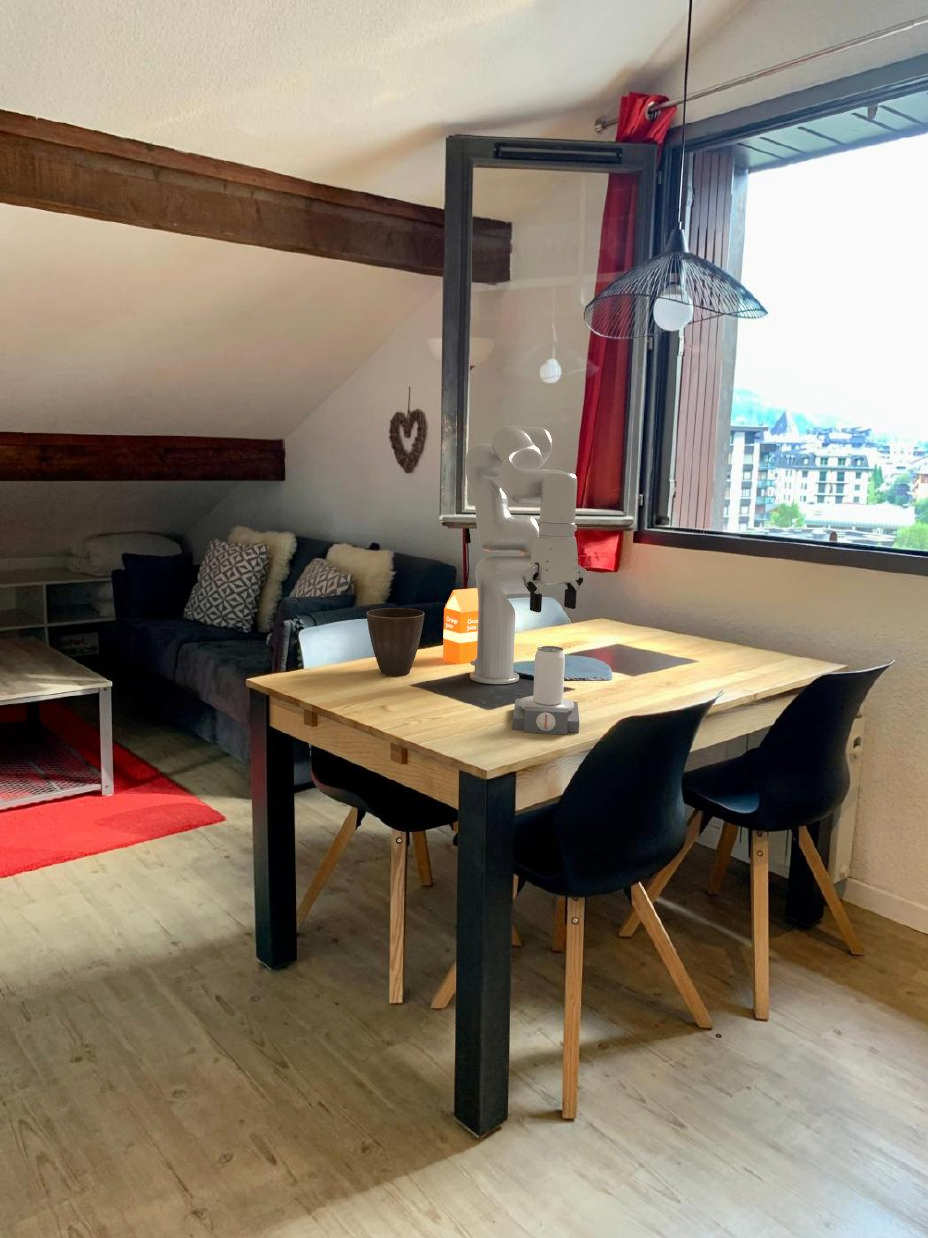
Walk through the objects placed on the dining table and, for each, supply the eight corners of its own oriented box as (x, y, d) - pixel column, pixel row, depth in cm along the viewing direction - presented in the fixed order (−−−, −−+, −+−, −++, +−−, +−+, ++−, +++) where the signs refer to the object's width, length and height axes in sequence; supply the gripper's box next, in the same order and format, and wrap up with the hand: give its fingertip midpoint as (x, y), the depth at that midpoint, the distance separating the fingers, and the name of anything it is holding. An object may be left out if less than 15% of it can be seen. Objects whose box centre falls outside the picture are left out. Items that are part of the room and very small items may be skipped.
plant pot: (362, 678, 240) (362, 616, 237) (369, 665, 255) (370, 606, 252) (420, 681, 240) (422, 618, 237) (425, 667, 254) (426, 608, 252)
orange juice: (442, 659, 265) (444, 588, 262) (467, 655, 271) (469, 586, 267) (459, 664, 259) (461, 592, 256) (484, 660, 264) (486, 589, 261)
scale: (515, 708, 217) (516, 688, 216) (576, 712, 215) (578, 691, 214) (511, 732, 198) (512, 710, 198) (579, 736, 197) (580, 713, 196)
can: (560, 698, 211) (563, 645, 209) (564, 706, 205) (567, 652, 203) (531, 698, 211) (533, 645, 209) (534, 705, 204) (537, 651, 202)
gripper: (575, 527, 210) (571, 604, 213) (513, 530, 200) (510, 609, 204) (598, 531, 204) (594, 609, 207) (536, 533, 194) (532, 615, 197)
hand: (552, 609), depth 205 cm, fingers open, 9 cm apart
